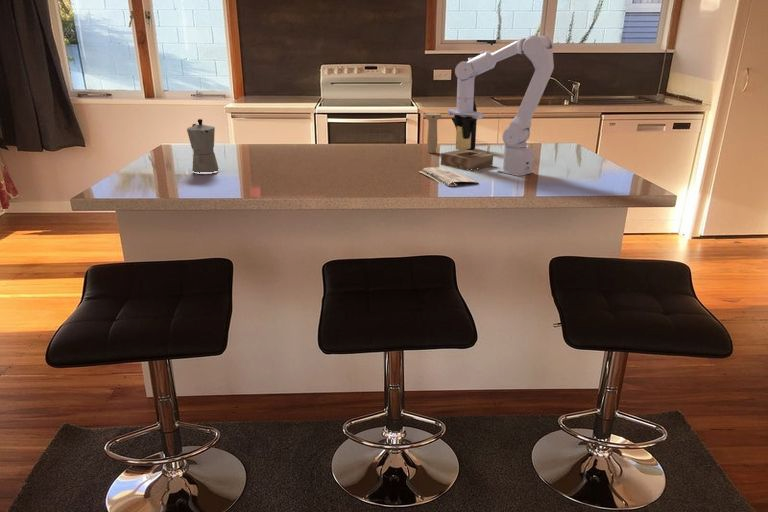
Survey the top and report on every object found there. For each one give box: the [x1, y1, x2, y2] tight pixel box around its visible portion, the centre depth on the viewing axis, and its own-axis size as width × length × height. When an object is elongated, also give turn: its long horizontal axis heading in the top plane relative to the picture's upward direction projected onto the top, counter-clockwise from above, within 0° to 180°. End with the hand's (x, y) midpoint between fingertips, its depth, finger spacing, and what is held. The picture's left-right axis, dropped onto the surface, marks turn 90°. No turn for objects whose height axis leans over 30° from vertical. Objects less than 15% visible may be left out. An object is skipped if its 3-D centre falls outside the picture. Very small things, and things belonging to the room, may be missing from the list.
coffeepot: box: [186, 118, 220, 173], centre depth 201 cm, size 15×9×18 cm, turn 33°
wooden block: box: [455, 125, 471, 150], centre depth 208 cm, size 2×5×8 cm, turn 130°
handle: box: [424, 112, 442, 154], centre depth 231 cm, size 5×6×15 cm
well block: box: [440, 149, 494, 171], centre depth 212 cm, size 14×12×4 cm
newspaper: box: [418, 166, 479, 187], centre depth 194 cm, size 23×12×2 cm, turn 18°
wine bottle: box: [466, 76, 478, 151], centre depth 235 cm, size 6×6×30 cm
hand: (463, 138), depth 208 cm, fingers closed on wooden block, 2 cm apart
